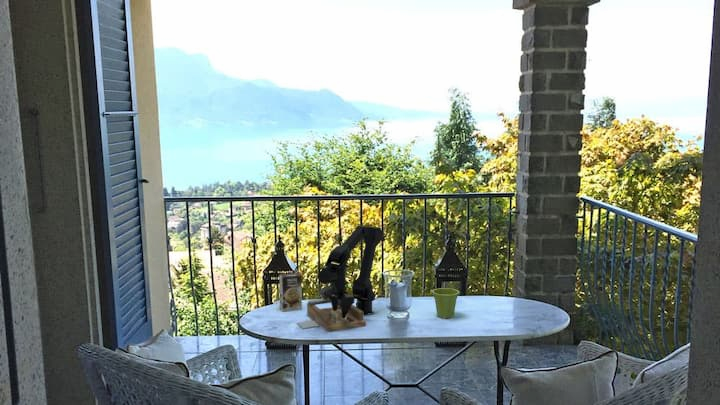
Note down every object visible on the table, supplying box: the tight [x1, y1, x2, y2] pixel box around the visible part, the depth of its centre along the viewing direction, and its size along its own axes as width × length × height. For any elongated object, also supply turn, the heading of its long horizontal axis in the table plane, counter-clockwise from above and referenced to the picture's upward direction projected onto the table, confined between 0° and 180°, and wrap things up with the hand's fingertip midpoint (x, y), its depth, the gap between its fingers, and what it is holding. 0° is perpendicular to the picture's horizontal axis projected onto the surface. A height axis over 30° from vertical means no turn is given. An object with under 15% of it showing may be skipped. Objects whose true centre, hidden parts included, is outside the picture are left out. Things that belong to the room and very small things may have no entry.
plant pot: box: [431, 287, 460, 319], centre depth 260 cm, size 12×12×11 cm
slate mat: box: [296, 320, 321, 330], centre depth 249 cm, size 8×8×1 cm
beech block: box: [331, 310, 348, 324], centre depth 251 cm, size 5×5×5 cm
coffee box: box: [279, 272, 303, 312], centre depth 271 cm, size 9×6×16 cm
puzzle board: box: [306, 302, 367, 333], centre depth 255 cm, size 17×24×6 cm
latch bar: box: [307, 298, 331, 306], centre depth 262 cm, size 17×3×4 cm, turn 116°
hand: (339, 314), depth 251 cm, fingers open, 9 cm apart
